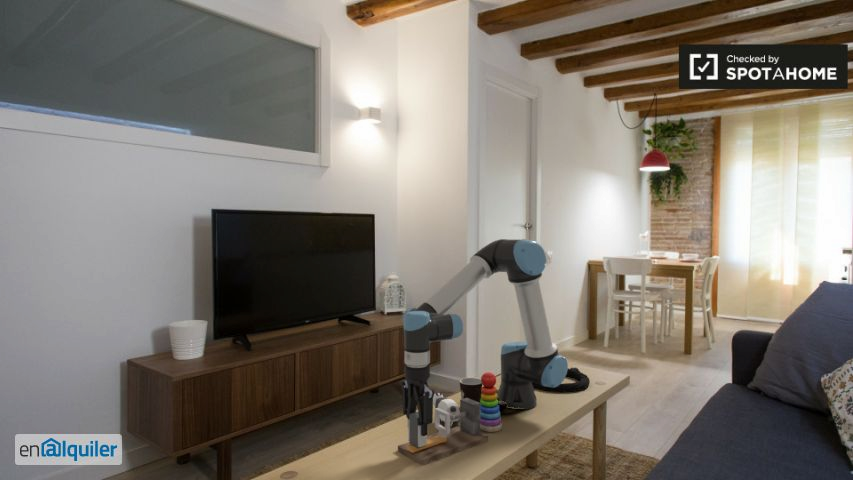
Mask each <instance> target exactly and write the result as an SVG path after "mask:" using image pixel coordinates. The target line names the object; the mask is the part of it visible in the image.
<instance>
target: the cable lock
mask: <svg viewBox="0 0 853 480" xmlns="http://www.w3.org/2000/svg"><path fill="white" fill-rule="evenodd" d="M565 377H567V378H573V379H575V380H579V381H575V382H566V383H561V384H560V385H559V386H557V387H548V386H543V385H541V384H537V383H534V382H532V386H533V389H537V390H542V391H546V392H552V393H553V392H556V393H573V392H579V391H583V390H585V389H586V388H587V387H589V386H590V378H589V376H588V375H587V374H585V373H583V372H581V371H580V370H579V369H578V368H577V367H570V368H569V367H568V370H567V374H566V376H565Z"/></svg>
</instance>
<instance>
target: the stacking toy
mask: <svg viewBox="0 0 853 480" xmlns="http://www.w3.org/2000/svg"><path fill="white" fill-rule="evenodd" d="M480 379H481V383H482V389H481V391H482V392H481V400H480V431H484V432H486V433H487V432H488V433H494V432H495V433H496V432H499V431H500V430H502V427H503V423H502V418H501V411H500V405H498V400H497V397H498V396H497V394H498V393H497V392H498V391H497V387H496V384H497V377H496V375H495V374H494V373H492V372H489V371H487V372H484V373H483V374H482V375H481V378H480Z"/></svg>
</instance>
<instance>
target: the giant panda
mask: <svg viewBox="0 0 853 480" xmlns="http://www.w3.org/2000/svg"><path fill="white" fill-rule="evenodd" d="M433 407H434V409H435V408H439V409H442V410H444V411H446V412H448V413H450V415H452V414H456V413H459V412H460V407H459V406H458V404H457V402H456V401H455V400H453V399H451V398H448V397H446V396H445V397H444V396H443V392H442V391H440V392H435V393H434V396H433ZM442 421H443V423H444V425H443V426H444V427H445V416H443V415H441V414H440V424H441V423H442ZM451 423H452V424H451ZM459 423H460V418H458V419H455V420H453V421H452V420H450V424H451V426H452V428H454V427H457V426H459Z"/></svg>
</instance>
